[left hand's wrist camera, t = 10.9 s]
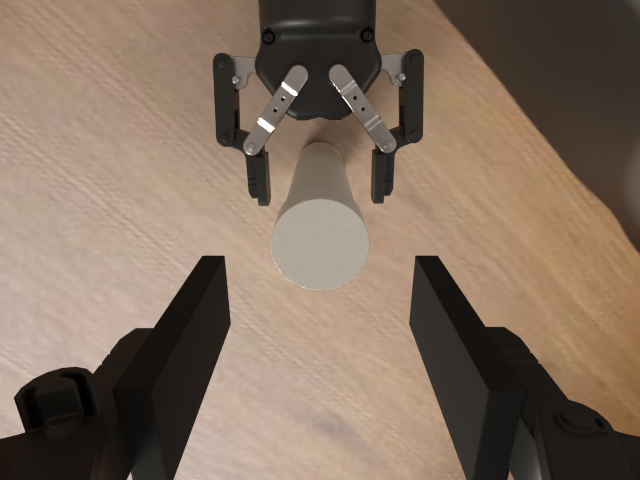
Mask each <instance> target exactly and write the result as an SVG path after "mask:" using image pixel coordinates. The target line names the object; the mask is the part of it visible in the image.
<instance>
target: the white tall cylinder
mask: <svg viewBox="0 0 640 480" xmlns="http://www.w3.org/2000/svg"><path fill="white" fill-rule="evenodd" d="M312 186H328V187H333V188H336V189H338V190H340V191H342V192H344V193H346V194H347V195H348V196H350V197H351V198H352V199H353V196H352V193H351V189H350V186H349V182H348V179H347V175H346V172H345V168H344V165H343V161H342V158H341V155H340V153H339V151H338V150H337V149H336V148H335V147H334V146H332V145H331V144H328V143H325V142H315V143H312V144H309V145H308V146H306V147H305V148H304V149H303V150H302V152H301V153H300V155H299V158H298V161H297V164H296V168H295V171H294V175H293V179H292V182H291V186H290V189H289V193H288V196H287V199H288V198H289V197H290V196H292V195H293V194H294V193H296V192H298V191H300V190H302V189H304V188H308V187H312Z"/></svg>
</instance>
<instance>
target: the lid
mask: <svg viewBox="0 0 640 480" xmlns="http://www.w3.org/2000/svg"><path fill="white" fill-rule="evenodd" d="M271 253H272V257H273V260H274V262H275V264H276V266H277V268H278V269H279V270H280V272H281V273H282V274H283V275H284V276H285V277H286V278H287V279H289V280H290V281H291V282H293V283H294V284H296V285H299V286H301V287H304V288H307V289H312V290H328V289H333V288H336V287H339V286H342V285H344V284H345V283H347V282H349V281H350V280H352V279H353V278H354V277H355V276H356V275H357V274H358V273H359V272H360V270H361V269H362V268H363V266H364V264H365V262H366V260H367V257H368V253H369V235H368V232H367V228H366V225H365V222H364V219H363V216H362V213H361V211H360V209H359V207H358V205H357V204H356V203H355V201H354V200H353V199H352V198H351V197H350V196H348V195H347V194H346V193H344V192H342V191H340V190H338V189H336V188H333V187H328V186H312V187H308V188H304V189H302V190H300V191H298V192H296V193H294V194H293V195H292V196H290V197H289V198H288V199H287V200H286V201H285V203H284V204H283V205H282V207H281V209H280V211H279V213H278V216H277V219H276V222H275V225H274V228H273V231H272V236H271Z"/></svg>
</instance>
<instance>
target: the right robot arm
mask: <svg viewBox="0 0 640 480" xmlns="http://www.w3.org/2000/svg"><path fill="white" fill-rule="evenodd" d="M258 1H259V17H260V33H261V43H260V48H259V51H258V54H257V56H256V57H240V56H231V55H229V54H226V53H219V54H217V55H216V56H215V57H214V59H213V74H214V96H215V118H216V138H217V142H218V143H219V144H220V145H221V146H224V147H228V146H229V147H232V148H235V149H237V150H240V151H241V152H243V154H244V155H245V157H246V164H247V177H248V189H249V193H250V195H251V197H252V198H258V204H259V206H268V205H269V203H270V200H271V190H270V174H269V158H268V152H265V143H266V142H267V141H268V139H269V138H270V136H271V135H272V133H273V132H274V130H275V129H276V127H277V126H278V124H279V123H280V122H281V120H282V119H283V117H284V116H285V114H287V115H289V116H290V117H292V118H294V119H297V120H310V119H313V118H317V117H322V118H326V119H330V120H342V118H344V117H347V116H348V115H350V114H351V113H352V112H353V114H354V115H355V116H356V118H357V119H358V121H359V122H360V123H361V125H362V126H363V127H364V129H365V130H366V131H367V133H368V134H369V136H370V137H371V138H372V140H373V141H374V142H375V150H372V174H371V199H372V201H373V203H383V202H384V196H390V194H391V192H392V190H393V175H394V157H395V153H396V151H397V150H398V149H399V148H400V147H402V146H405V145H407V144H410V143H417V142H419V141H420V140H421V138H422V136H423V82H424V56H423V53H422V52H421V51H420V50H418V49H412V50H409V51H407V52H404V53H398V54H387V55H380V53H379V51H378V49H377V46H376V41H375V18H376V0H258ZM381 70H383V71H385V72H386V73H387V74H388V76H389V80H390V83H391V84H392V85H394V86H399V126H398V127H395V128H393V129H390V130H388V129H387V127H386V126H385V124H384V123H383V121H382V120H381V118H380V117H379V115H378V114H377V112H376V111H375V109H374V108H373V106H372V105H371V104H370V102H369V101H368V99H367V98H366V96H365V94H366V92H367V91H368V89H369V88H370V86H371V85H372V84H373V82H374V81H375V79H376V78H377V76H378V75H379V73H380V71H381ZM255 72H256V73H257V75H258V77H259V78H260V80H261V81H262V82H263V84H264V85H265V86H266V88H267V89H268V90H269V92H270V93H271V94H272V96H273V98H272V99H271V101H270V102H269V104H268V105H267V107H266V108H265V110H264V111H263V113H262V114H261V116H260V118H259V119H258V121H257V123H256V125H255V126H254V128H253V129H252V131H251V132H247V131H244V130H241V129H240V110H239V89H243V88H245V87H246V86H247V84H248V79H249V77H250V75H251V74H252V73H255Z"/></svg>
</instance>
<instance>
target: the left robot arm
mask: <svg viewBox="0 0 640 480" xmlns="http://www.w3.org/2000/svg"><path fill="white" fill-rule="evenodd" d="M230 325H231V322H230V311H229V300H228V289H227V278H226V267H225V256H202V257H201V259H200V260H199V262H198V263H197V265H196V266H195V268H194V269H193V270H192V272H191V273H190V275H189V276H188V278H187V279H186V281H185V282H184V284H183V285H182V287H181V288H180V290H179V291H178V293H177V294H176V296H175V297H174V299H173V300H172V302H171V303H170V305H169V306H168V308H167V309H166V311H165V312H164V313H163V315H162V316H161V318H160V319H159V321H158V322H157V324H156V325H155V327H154V328H136V329H134V330H133V331H131V332H130V333H128V334H127V335H125V336H124V337H123V338H121V339H120V340H119V341H118V343H117V344H116V345H115V346H114V348H113V349H112V350H111V352H110V354H108V355H107V357H106V358H105V359H104V361H103V362H102V365H100V366H99V367H98V368H97V370H96V371H95V372H94V373H93V374H92V373H91V372H90V371H89V370H87V369H85V368H80V367H68V368H61V369H57V370H54V371H50V372H47V373H45V374H43V375H41V376H39V377H37V378H35V379H33V380H31V381H30V382H29V383H27V384H26V385H25V386H23V387H22V388H21V389H20V390H19V392H18V393H17V394H16V396H15V397H14V400H15V403H16V406H17V409H18V412H19V414H20V417H21V420H22V423H23V426H24V429H25V433H22V434H19V435H15V436H11V437H7V438H2V439H0V480H127V478H128V476H129V474H130V472H131V475H132V479H133V480H173V479H174V477H175V474H176V471H177V468H178V466H179V463H180V460H181V458H182V455H183V452H184V449H185V447H186V444H187V441H188V439H189V436H190V433H191V430H192V428H193V425H194V422H195V420H196V417H197V414H198V411H199V409H200V406H201V403H202V401H203V398H204V395H205V392H206V390H207V387H208V384H209V382H210V379H211V376H212V373H213V371H214V368H215V365H216V363H217V360H218V357H219V354H220V352H221V349H222V346H223V344H224V341H225V338H226V335H227V333H228V330H229V327H230ZM409 325H410V327H411V330H412V333H413V335H414V338H415V341H416V344H417V346H418V349H419V352H420V354H421V357H422V360H423V363H424V365H425V368H426V371H427V373H428V376H429V379H430V382H431V384H432V387H433V390H434V392H435V395H436V398H437V401H438V403H439V406H440V409H441V411H442V414H443V417H444V420H445V422H446V425H447V428H448V430H449V433H450V436H451V439H452V441H453V444H454V447H455V449H456V452H457V455H458V458H459V460H460V463H461V466H462V468H463V471H464V474H465V477H466V479H467V480H507V479H508V475H509V470H510V472H511V474H512V476H513V478H514V480H640V437H637V436H632V435H628V434H624V433H620V432H617V431H614V430H613V428H612V427H611V425H610V424H609V422H608V421H607V420H606V419H605V418H603V417H602V416H601V415H600V414H599V413H598V412H596V411H594V410H593V409H591V408H589V407H587V406H585V405H583V404H580V403H577V402H574V401H571V400H568V398H567V397H566V396H565V395H564V393H563V392H562V391H561V390H560V388H559V387H558V386H557V384H556V383H555V382H554V381H553V379H552V378H551V377H550V375H549V374H548V373H547V372H546V370H545V369H544V368H543V366H542V365H541V364H539V363H538V360H537V359H536V357H535V356H534V355H533V354H532V353H530V350H529V349H528V347H527V346H526V345H525V343H524V342H523V341H522V340H521V338H520V337H518V336H517V335H515V334H514V333H512V332H511V331H509V330H508V329H506V328H505V327H485V325H484V324H483V322H482V321H481V319H480V318H479V316H478V315H477V313H476V312H475V311H474V309H473V308H472V306H471V305H470V303H469V302H468V300H467V299H466V297H465V296H464V294H463V293H462V291H461V290H460V288H459V287H458V285H457V284H456V282H455V281H454V279H453V278H452V276H451V275H450V273H449V272H448V270H447V269H446V268H445V266H444V265H443V263H442V262H441V260H440V259H439V257H438V256H415V267H414V278H413V289H412V300H411V311H410V322H409Z"/></svg>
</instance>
